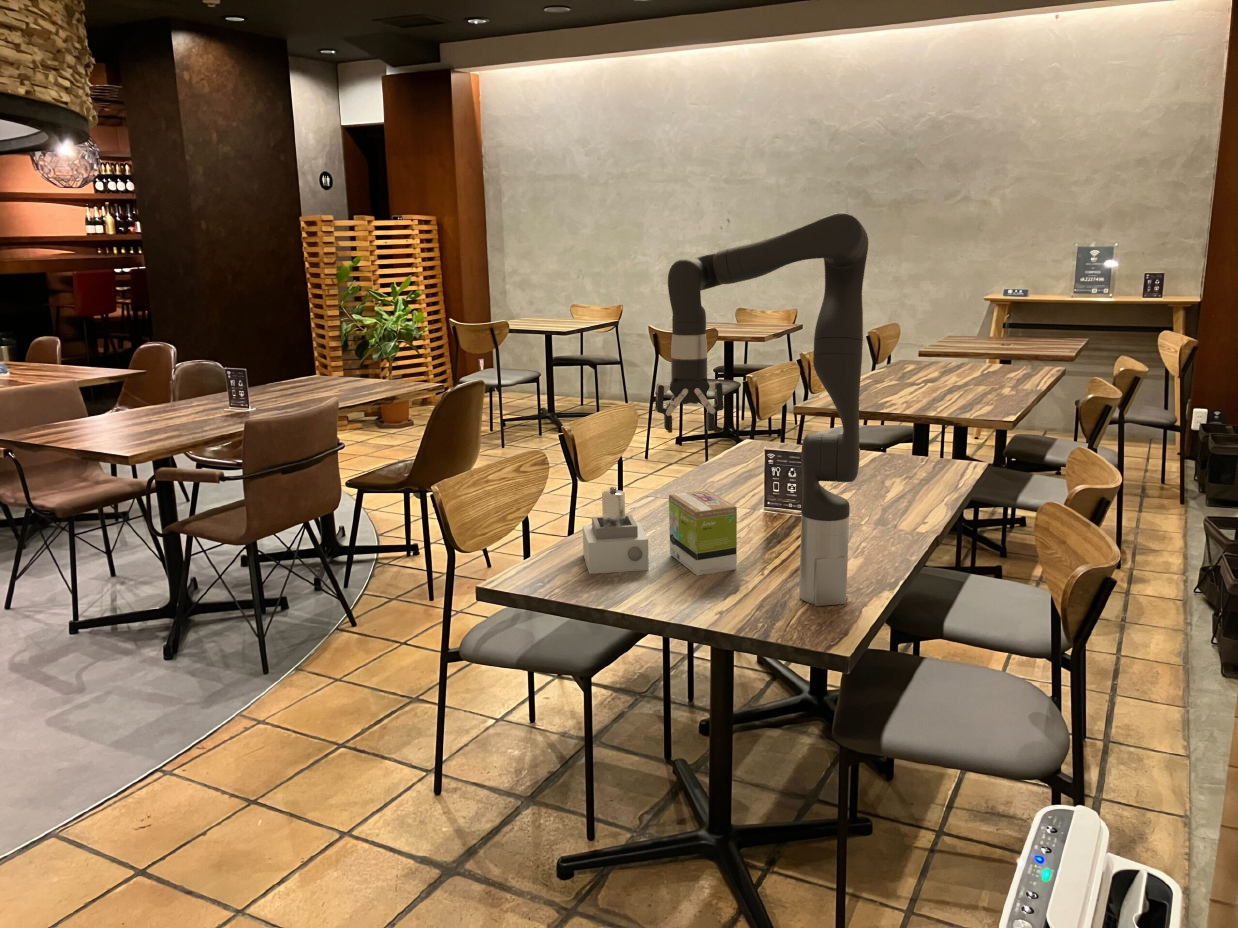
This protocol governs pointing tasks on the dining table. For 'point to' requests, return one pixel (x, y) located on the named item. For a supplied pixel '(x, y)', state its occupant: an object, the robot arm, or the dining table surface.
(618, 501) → the spout can
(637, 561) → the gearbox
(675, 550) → the tea box
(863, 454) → the dining table surface
